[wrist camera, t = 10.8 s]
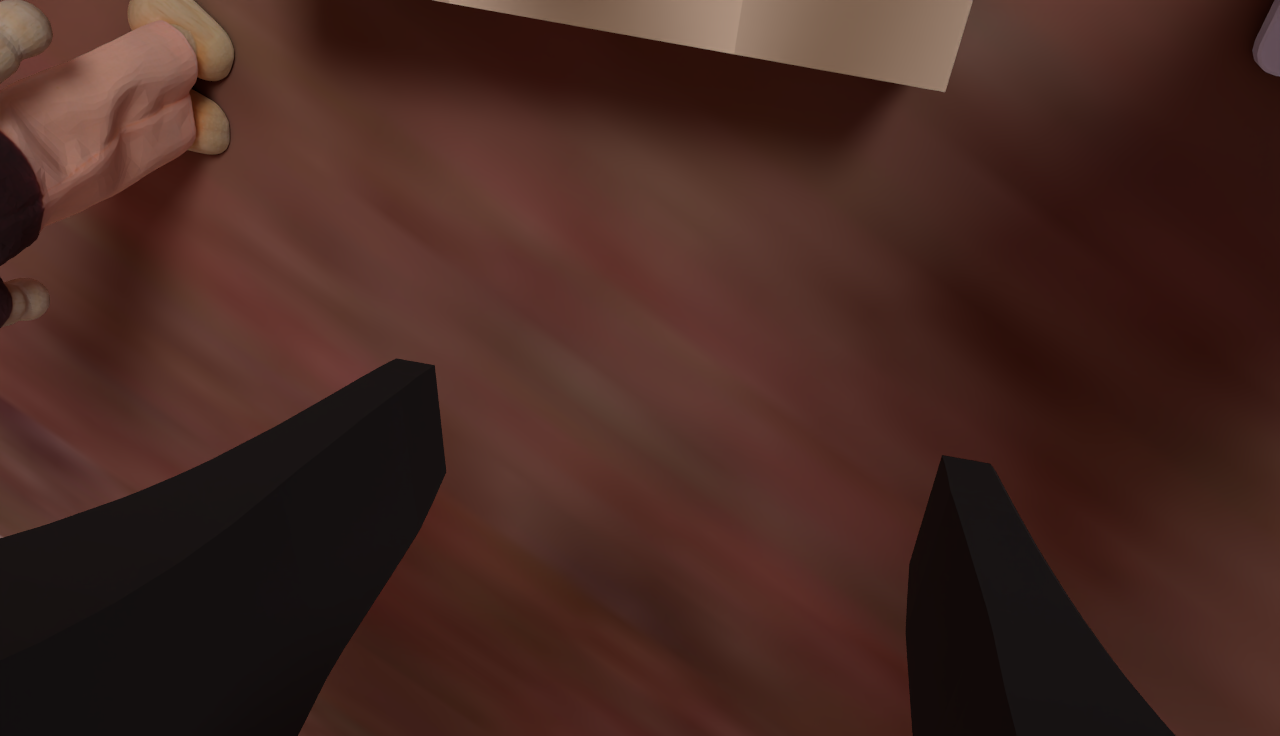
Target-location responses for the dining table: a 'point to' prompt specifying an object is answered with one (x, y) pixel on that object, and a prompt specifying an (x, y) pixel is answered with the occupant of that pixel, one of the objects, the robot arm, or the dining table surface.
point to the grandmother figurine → (98, 120)
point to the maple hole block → (783, 30)
